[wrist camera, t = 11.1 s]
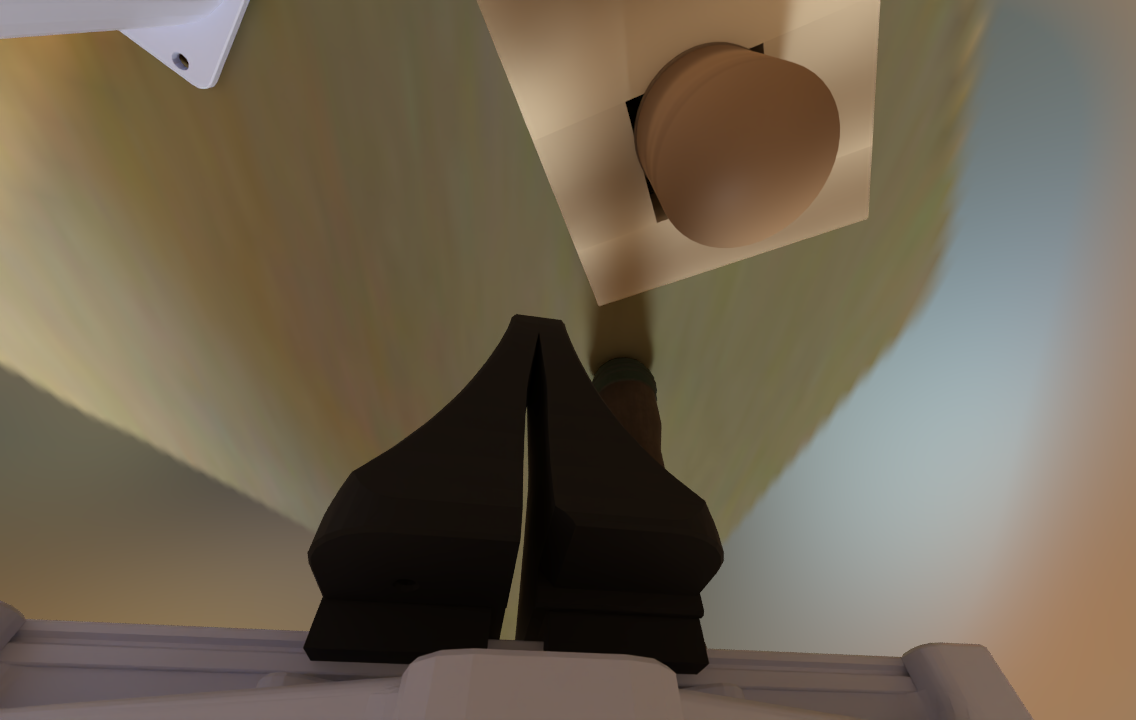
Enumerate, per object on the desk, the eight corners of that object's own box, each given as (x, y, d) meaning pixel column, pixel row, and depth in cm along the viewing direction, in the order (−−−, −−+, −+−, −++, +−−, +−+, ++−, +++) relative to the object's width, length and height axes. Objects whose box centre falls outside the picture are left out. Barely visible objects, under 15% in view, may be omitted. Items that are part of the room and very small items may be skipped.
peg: (602, 89, 16) (623, 135, 11) (724, 2, 15) (818, 6, 9) (656, 196, 19) (694, 277, 14) (765, 132, 17) (857, 193, 12)
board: (410, -209, 12) (374, -256, 10) (831, -487, 10) (915, -636, 8) (594, 273, 22) (598, 306, 19) (831, 192, 19) (868, 218, 17)
